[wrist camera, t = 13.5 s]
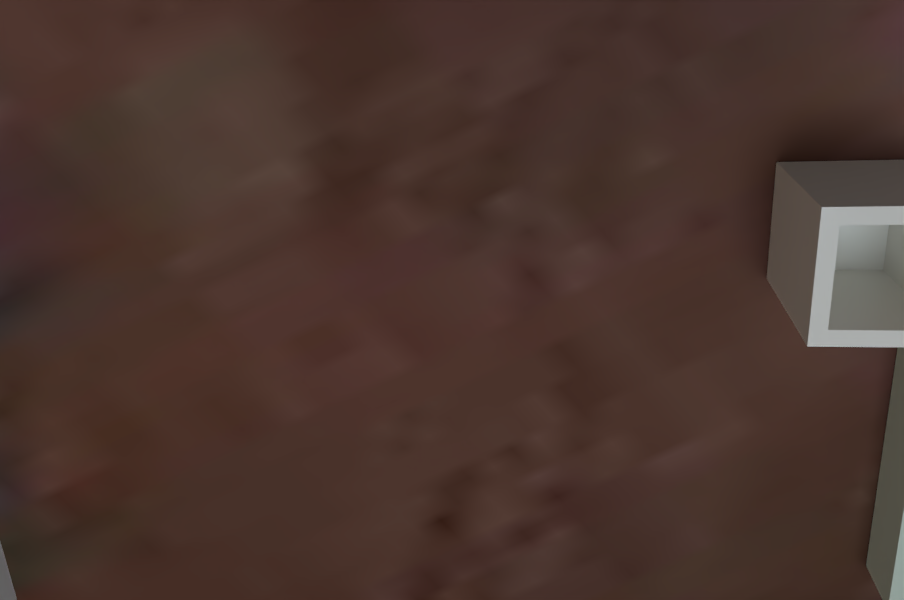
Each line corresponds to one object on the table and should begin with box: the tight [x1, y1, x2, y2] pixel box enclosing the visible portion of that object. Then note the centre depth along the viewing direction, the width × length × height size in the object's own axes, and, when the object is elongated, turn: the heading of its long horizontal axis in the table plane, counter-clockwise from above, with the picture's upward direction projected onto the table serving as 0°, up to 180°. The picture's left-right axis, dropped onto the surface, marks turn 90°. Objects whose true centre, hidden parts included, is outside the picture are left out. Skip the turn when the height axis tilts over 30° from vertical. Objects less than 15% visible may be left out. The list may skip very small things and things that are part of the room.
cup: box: [767, 160, 904, 347], centre depth 36 cm, size 6×6×8 cm
